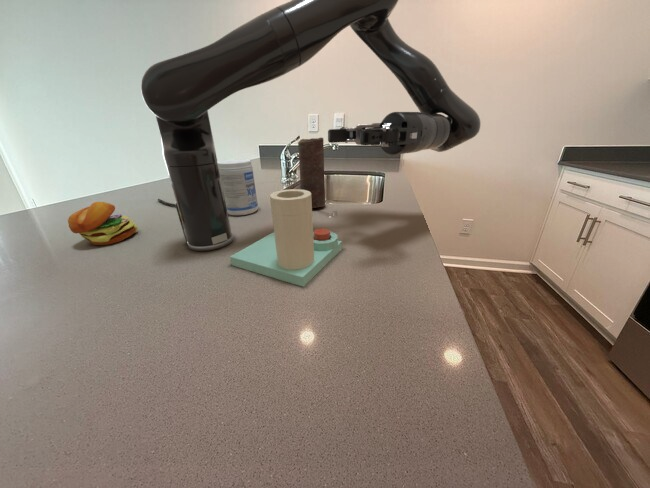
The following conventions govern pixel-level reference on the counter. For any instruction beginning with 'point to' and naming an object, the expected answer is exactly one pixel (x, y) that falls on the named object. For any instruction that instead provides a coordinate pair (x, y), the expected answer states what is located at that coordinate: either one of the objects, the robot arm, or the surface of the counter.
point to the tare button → (321, 234)
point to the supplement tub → (238, 186)
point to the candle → (312, 169)
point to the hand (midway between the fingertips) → (344, 136)
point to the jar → (293, 228)
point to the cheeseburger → (101, 224)
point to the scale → (266, 263)
